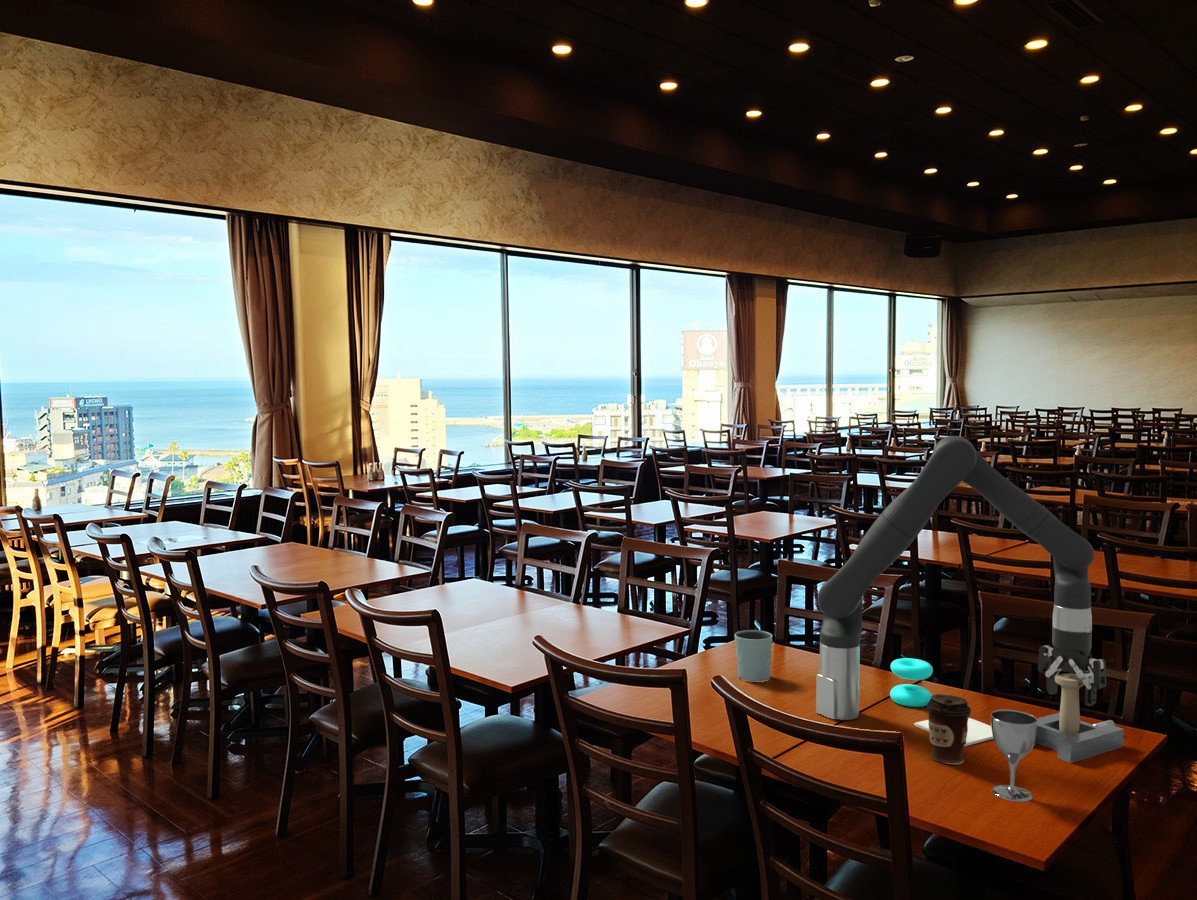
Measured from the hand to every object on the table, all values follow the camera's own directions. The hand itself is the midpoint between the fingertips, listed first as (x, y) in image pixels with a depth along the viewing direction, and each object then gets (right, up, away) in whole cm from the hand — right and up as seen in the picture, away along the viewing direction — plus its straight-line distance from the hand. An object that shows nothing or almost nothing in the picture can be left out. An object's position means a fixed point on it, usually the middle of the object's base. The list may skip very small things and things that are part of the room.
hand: (1070, 699), depth 191 cm
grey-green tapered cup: (-61, -8, +48) cm, 78 cm away
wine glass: (-24, -12, -23) cm, 35 cm away
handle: (0, -10, +1) cm, 10 cm away
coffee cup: (-30, -11, -7) cm, 33 cm away
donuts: (-25, -9, +28) cm, 39 cm away
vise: (+3, -10, +2) cm, 10 cm away
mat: (-20, -10, +9) cm, 24 cm away
